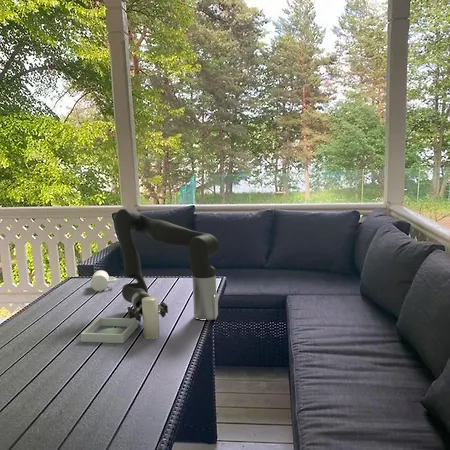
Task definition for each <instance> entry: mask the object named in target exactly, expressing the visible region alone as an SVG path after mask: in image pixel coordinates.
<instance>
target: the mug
mask: <svg viewBox="0 0 450 450" xmlns="http://www.w3.org/2000/svg"><path fill="white" fill-rule="evenodd" d="M117 281H118V279H117V277H116V276H109V274H108V272H107V271H106V270H102V269H101V270H100V269H99V270H97V271H95V272H94V274H93V275H92V277H91V281H90V287H91V288H92V290H94V291H96V292H102V291H105V290H106V289H107V287H108V285H109V284H111V283H115V282H117Z"/></svg>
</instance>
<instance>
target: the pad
mask: <svg viewBox="0 0 450 450" xmlns="http://www.w3.org/2000/svg"><path fill="white" fill-rule="evenodd" d="M123 332H124V330H123V328H120V327H109V328H103V330H100V331H99V332H98V333H105V334H122V333H123Z"/></svg>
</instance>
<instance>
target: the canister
mask: <svg viewBox="0 0 450 450" xmlns="http://www.w3.org/2000/svg"><path fill="white" fill-rule="evenodd" d="M158 305H159V298H158V297H157V296H153V295H149V297H145V298H143V299H142V311H143V316H142V325H143V338H144V339H146V338H148V339H147V340H154V339H153V338H155V339H157V338H156V337H158V336H159V335H161V334H160V331H161V330H160V317H159V316H160V314H159V313H158ZM159 337H160V336H159ZM159 337H158V338H159Z"/></svg>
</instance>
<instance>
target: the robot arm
mask: <svg viewBox="0 0 450 450" xmlns="http://www.w3.org/2000/svg"><path fill="white" fill-rule="evenodd" d="M114 224H115V229H116V233H117V237H118V240H119V244H120V247H121V248H120V249H121V252H122V257H123V258H122V260H123V269H124V275H125V277H126V278H127V279H133V280H135V281H136V282H131V283H126V284H124V285H123V287H122V289H121V295H122V297H123V299H124V301H126V302H128V303H130V304H131V305H132V307H131V306H128V307H127V316H128V318H130V319H132V318H136V320H138V322H141V321H142V318H141V317H143V311H142V299H143V298H145V297H149V296H150V295H149V294H148V293H149V290H148V286H147V284H146V281H145V278H144V276H143V273H142V265H141V258H140V254H139V251H138V250H137V248H136V246H135V244H134V241H133V238H132V235H131V232H133V233H138V234H139V233H140V234H143V235H146V236H148V237H149V238H151V239H152V240H153V241H155V242H156V243H157V242H158V243H160V244H163V245H165V246H171V247H182V248H183V247H184V248H188V258H189V259H188V260H189V268H190V271H191V275H192V277H191V278H192V296H193V297H192V298H193V301H192V302H193V318H194V317H195V318H198V319H207V320H208V321H213V320H217V317H218V316H219V308H218V307H219V304H218V302H219V301H218V300H219V299H218V292H217V278H216V277H217V276H216V272H217V271H216V267H214V266H213V265H210V262H209V261H210V260H209V258H211V257H213V256H215V255H217V253H218V252H219V251H220V248H221V247H220V242H219V239H217V238H216V236H214V235H212V234H211V233H206V232H200V231H196V230H192V229H189V228H186V227H183V226H180V225H177V224H174V223H171V222H169V221H166V220H163V219H153V218H150V217H148V216H146V215H144V214H142V213H141V212H137V211H136V210H135V211H134V210H131V209H127V208H122V209H119V210H118V211H117V212H116V214H115V216H114ZM168 308H169V306H168V304H166V303H165V302H164V301H161V302H160V304H159V303H158V313H159V316H161V318H165V316H166V314H168V313H169V309H168ZM195 318H194V319H195Z"/></svg>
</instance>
